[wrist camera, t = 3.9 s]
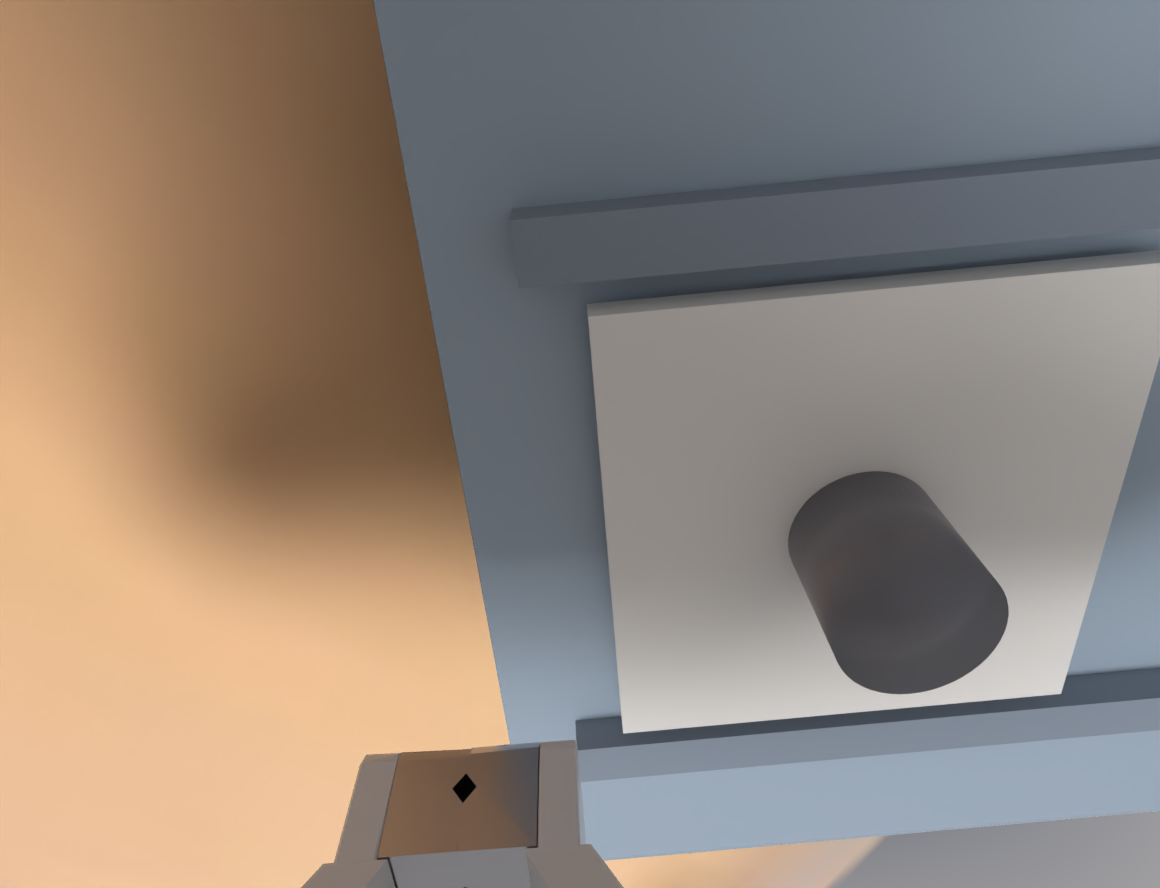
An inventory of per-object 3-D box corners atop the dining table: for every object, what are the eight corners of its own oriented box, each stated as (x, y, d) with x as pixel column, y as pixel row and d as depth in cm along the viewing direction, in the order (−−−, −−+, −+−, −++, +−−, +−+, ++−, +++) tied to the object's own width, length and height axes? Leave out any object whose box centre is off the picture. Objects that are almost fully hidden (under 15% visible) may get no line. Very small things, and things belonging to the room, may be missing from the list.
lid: (587, 303, 12) (598, 385, 10) (1160, 250, 12) (1336, 316, 9) (620, 710, 17) (635, 846, 14) (1044, 671, 17) (1143, 801, 14)
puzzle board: (389, -80, 12) (339, -111, 9) (1818, -220, 12) (2225, -296, 9) (534, 781, 22) (532, 898, 19) (1328, 709, 22) (1449, 816, 19)
